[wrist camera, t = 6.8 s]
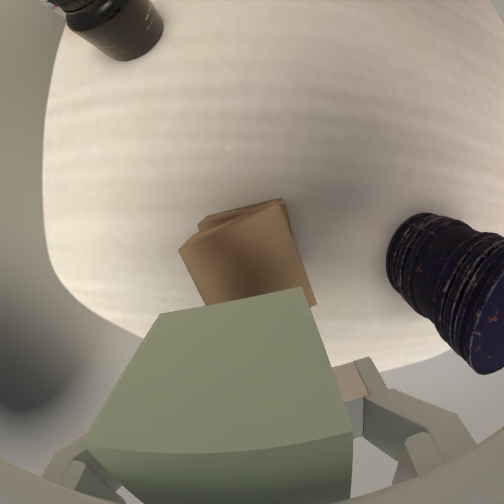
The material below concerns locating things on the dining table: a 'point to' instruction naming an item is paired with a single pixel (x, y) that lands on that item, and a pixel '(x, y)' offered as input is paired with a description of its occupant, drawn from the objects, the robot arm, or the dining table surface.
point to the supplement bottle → (114, 25)
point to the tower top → (246, 258)
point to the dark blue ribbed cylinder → (453, 284)
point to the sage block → (229, 409)
